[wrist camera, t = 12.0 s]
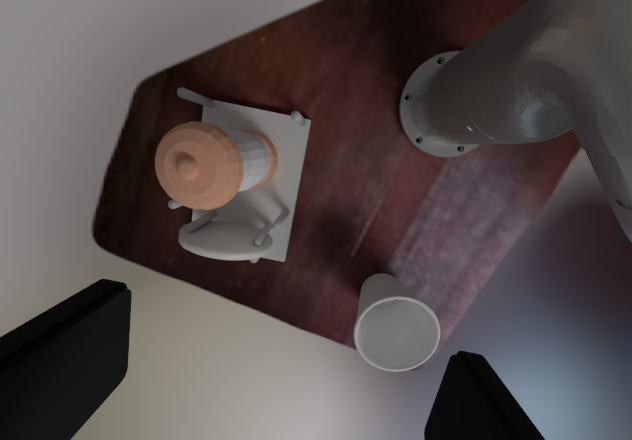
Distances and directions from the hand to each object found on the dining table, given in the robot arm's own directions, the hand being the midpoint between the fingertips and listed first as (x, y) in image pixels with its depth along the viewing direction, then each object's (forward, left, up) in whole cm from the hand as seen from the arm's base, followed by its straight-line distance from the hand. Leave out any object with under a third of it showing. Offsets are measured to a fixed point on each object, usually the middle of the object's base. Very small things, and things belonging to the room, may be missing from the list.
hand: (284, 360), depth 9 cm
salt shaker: (+10, -2, -33) cm, 35 cm away
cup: (-12, +13, -34) cm, 39 cm away
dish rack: (+10, +1, -34) cm, 36 cm away
